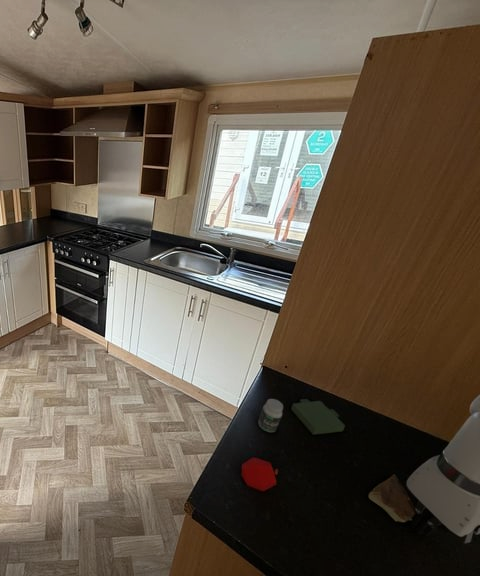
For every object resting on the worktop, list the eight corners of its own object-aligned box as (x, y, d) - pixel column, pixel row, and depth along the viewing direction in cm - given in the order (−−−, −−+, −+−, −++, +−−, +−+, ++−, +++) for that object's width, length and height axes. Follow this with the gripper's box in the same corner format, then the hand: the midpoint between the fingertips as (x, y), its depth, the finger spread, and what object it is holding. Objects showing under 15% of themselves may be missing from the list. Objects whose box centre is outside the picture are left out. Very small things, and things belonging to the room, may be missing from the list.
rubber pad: (318, 402, 96) (320, 397, 95) (346, 430, 86) (349, 425, 85) (288, 405, 94) (290, 400, 93) (313, 434, 85) (315, 429, 84)
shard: (393, 477, 75) (396, 472, 74) (433, 508, 68) (437, 504, 68) (365, 495, 71) (368, 490, 70) (406, 530, 65) (410, 526, 64)
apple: (240, 474, 70) (279, 472, 67) (235, 452, 76) (271, 449, 73) (247, 499, 71) (286, 499, 68) (242, 475, 77) (277, 474, 75)
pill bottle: (258, 429, 87) (265, 407, 83) (257, 416, 91) (264, 395, 87) (277, 435, 85) (285, 413, 81) (275, 422, 89) (283, 400, 85)
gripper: (543, 515, 50) (479, 571, 58) (439, 435, 63) (398, 489, 71) (504, 522, 49) (444, 578, 57) (407, 439, 62) (370, 494, 70)
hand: (419, 529), depth 64 cm, fingers closed
